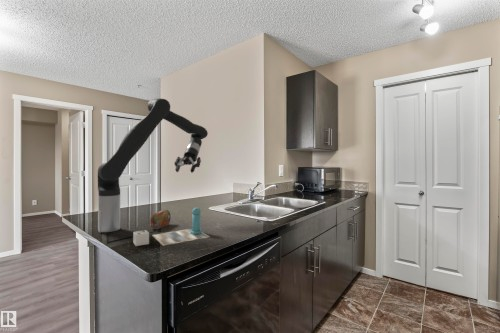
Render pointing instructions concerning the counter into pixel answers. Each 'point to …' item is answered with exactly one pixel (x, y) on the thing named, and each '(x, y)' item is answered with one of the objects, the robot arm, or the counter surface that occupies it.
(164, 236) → the board
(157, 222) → the mottled brown slab
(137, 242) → the die
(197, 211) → the pawn
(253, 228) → the counter surface
